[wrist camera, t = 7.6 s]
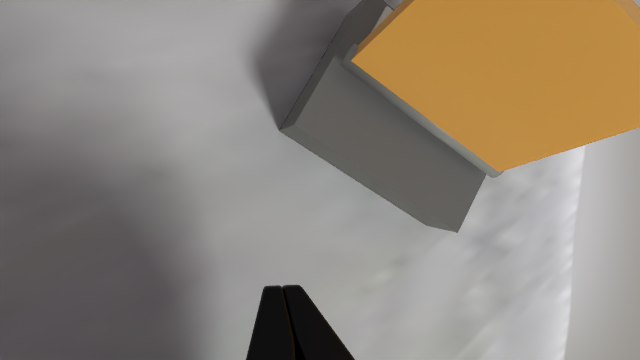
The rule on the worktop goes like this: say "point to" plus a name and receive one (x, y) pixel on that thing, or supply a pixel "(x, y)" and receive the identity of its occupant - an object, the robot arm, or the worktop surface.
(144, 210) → the worktop surface
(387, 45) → the orange square tile
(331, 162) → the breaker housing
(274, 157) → the worktop surface
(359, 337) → the worktop surface
